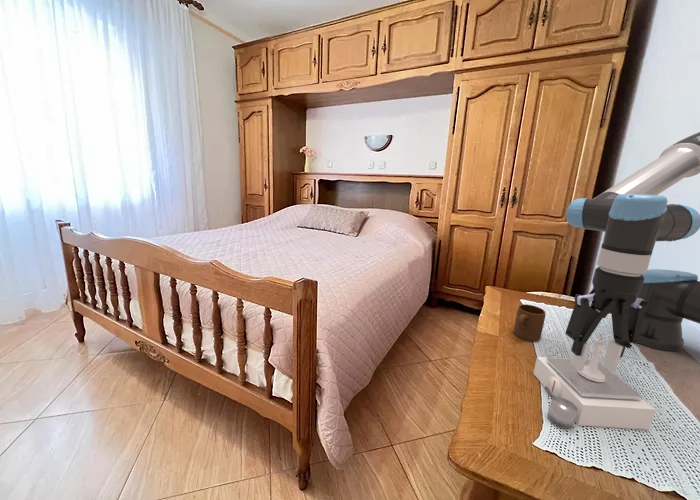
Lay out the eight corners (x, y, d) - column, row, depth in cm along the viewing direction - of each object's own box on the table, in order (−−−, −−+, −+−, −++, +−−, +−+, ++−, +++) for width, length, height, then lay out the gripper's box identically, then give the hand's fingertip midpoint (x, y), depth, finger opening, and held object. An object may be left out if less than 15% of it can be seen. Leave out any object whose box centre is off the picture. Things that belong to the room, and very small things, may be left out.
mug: (527, 349, 85) (533, 320, 83) (502, 337, 91) (507, 310, 89) (544, 337, 92) (550, 310, 90) (519, 327, 98) (524, 302, 96)
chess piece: (610, 384, 62) (622, 342, 60) (584, 379, 63) (596, 338, 61) (596, 370, 67) (607, 331, 64) (572, 366, 68) (582, 327, 65)
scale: (588, 376, 74) (593, 358, 72) (648, 429, 58) (656, 407, 57) (531, 373, 74) (535, 355, 73) (575, 425, 59) (581, 403, 57)
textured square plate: (595, 363, 71) (596, 360, 70) (641, 399, 59) (642, 396, 59) (546, 360, 71) (546, 357, 71) (581, 396, 59) (582, 393, 59)
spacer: (561, 411, 62) (566, 396, 61) (578, 429, 58) (583, 413, 57) (542, 412, 62) (546, 396, 61) (557, 429, 58) (562, 413, 57)
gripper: (650, 267, 62) (622, 360, 68) (559, 263, 63) (538, 355, 68) (688, 279, 55) (653, 382, 60) (585, 274, 55) (559, 376, 61)
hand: (592, 367), depth 64 cm, fingers open, 6 cm apart
